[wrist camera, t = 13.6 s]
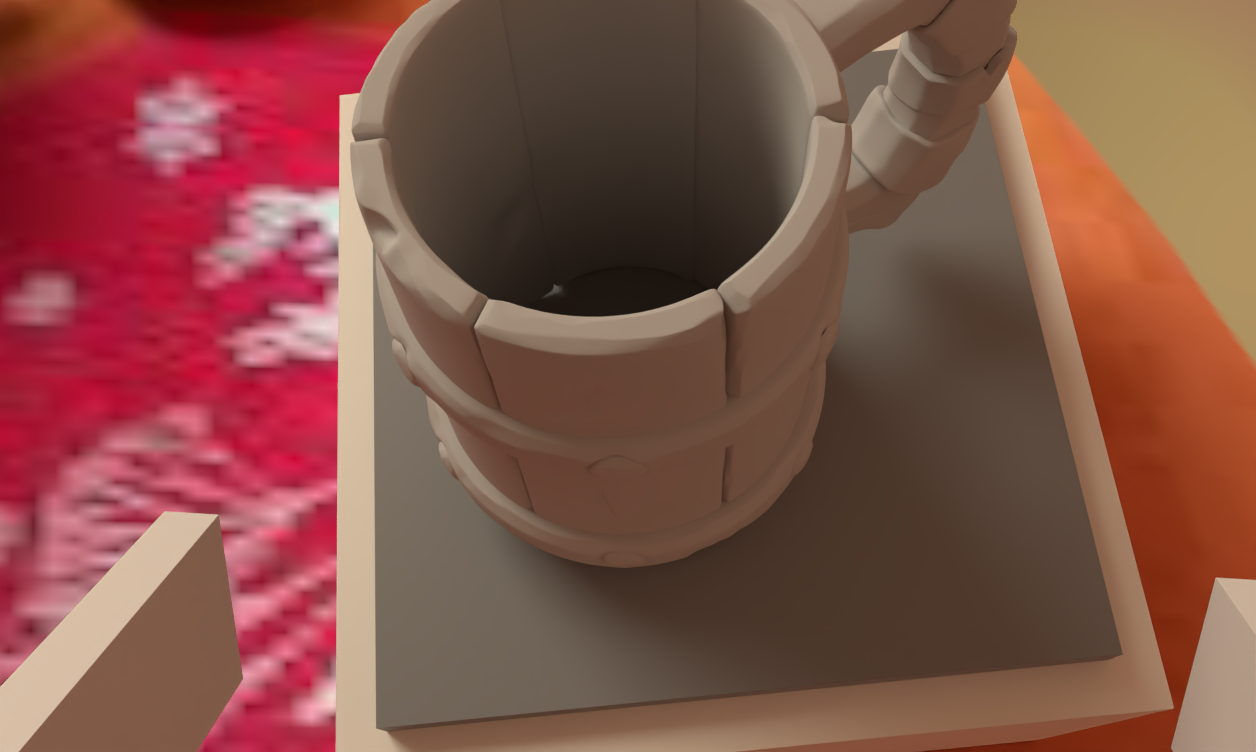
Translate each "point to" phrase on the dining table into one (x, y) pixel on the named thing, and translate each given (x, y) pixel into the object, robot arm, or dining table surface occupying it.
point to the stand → (775, 525)
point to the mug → (644, 237)
